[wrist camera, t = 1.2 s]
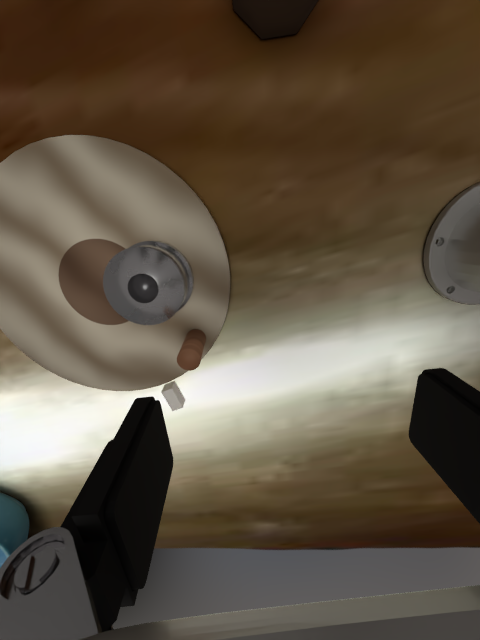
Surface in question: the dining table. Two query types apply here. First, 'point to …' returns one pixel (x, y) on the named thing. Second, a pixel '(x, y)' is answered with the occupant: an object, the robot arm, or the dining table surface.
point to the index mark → (173, 396)
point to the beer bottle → (274, 15)
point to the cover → (148, 282)
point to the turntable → (102, 261)
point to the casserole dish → (12, 526)
